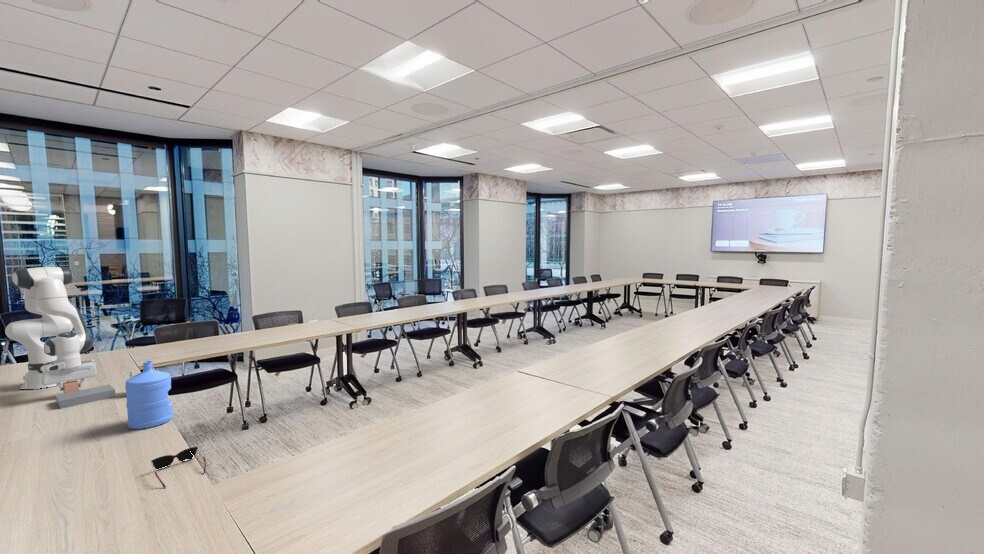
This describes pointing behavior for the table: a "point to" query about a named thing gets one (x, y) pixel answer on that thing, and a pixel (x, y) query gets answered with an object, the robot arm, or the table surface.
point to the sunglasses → (169, 459)
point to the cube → (70, 386)
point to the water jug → (148, 398)
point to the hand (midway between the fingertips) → (70, 388)
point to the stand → (84, 396)
